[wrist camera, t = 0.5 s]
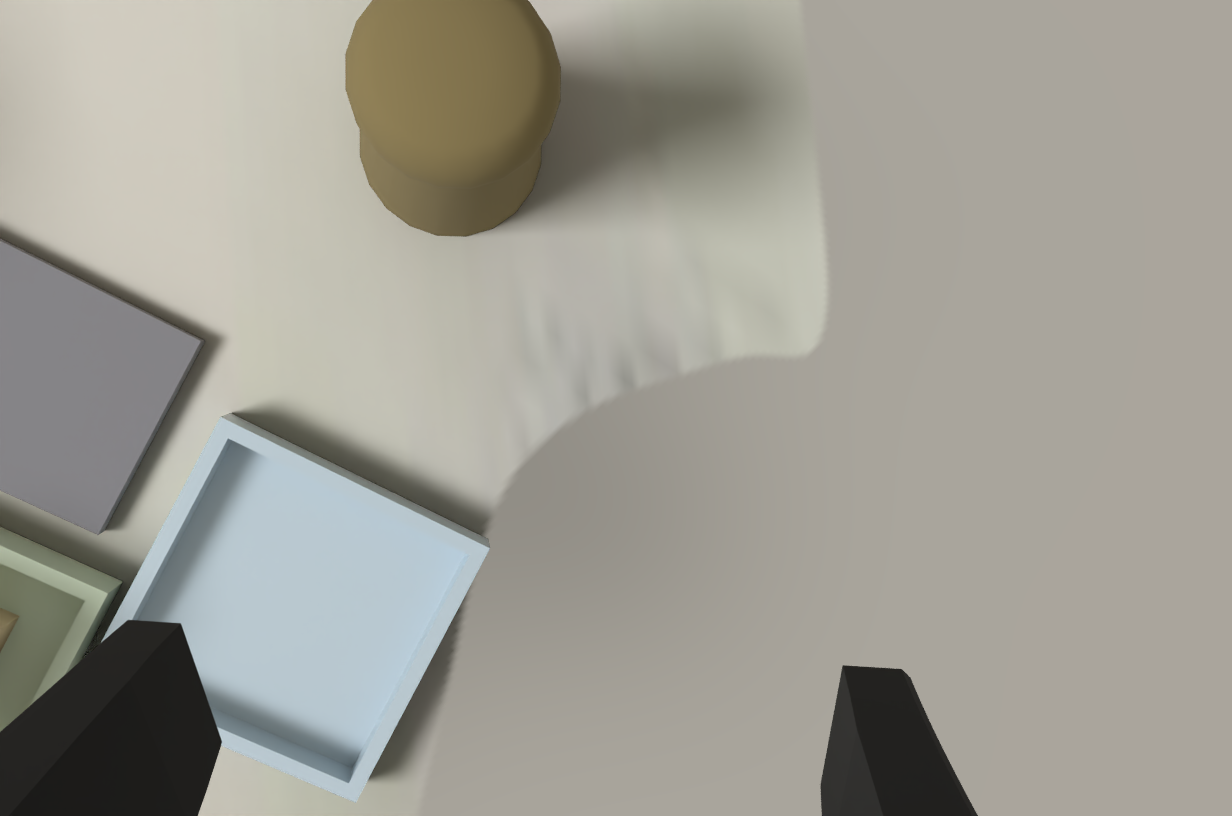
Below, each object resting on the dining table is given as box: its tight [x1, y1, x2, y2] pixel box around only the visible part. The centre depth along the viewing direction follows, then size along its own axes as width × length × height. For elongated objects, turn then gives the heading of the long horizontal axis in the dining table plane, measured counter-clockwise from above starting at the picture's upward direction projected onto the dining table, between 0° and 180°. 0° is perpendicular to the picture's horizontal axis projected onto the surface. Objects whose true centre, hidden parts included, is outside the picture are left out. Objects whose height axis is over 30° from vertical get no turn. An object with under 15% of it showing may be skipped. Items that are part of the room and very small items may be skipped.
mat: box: [0, 238, 205, 535], centre depth 32 cm, size 7×8×1 cm
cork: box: [346, 0, 561, 236], centre depth 29 cm, size 6×6×11 cm
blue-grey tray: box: [101, 413, 490, 803], centre depth 34 cm, size 10×10×2 cm
